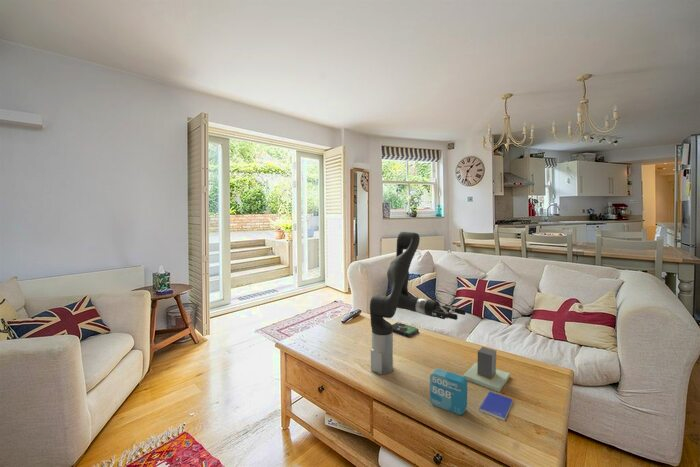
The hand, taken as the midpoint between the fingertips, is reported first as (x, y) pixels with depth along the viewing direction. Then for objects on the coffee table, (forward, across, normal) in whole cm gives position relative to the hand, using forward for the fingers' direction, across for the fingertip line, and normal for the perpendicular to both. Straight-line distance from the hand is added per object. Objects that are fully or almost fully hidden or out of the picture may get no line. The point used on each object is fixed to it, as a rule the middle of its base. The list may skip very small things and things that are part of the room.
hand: (461, 314), depth 131 cm
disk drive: (-42, +18, +24) cm, 52 cm away
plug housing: (+11, +1, +23) cm, 25 cm away
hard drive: (+20, -16, +26) cm, 36 cm away
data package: (+7, -27, +25) cm, 38 cm away
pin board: (+11, +1, +24) cm, 27 cm away
